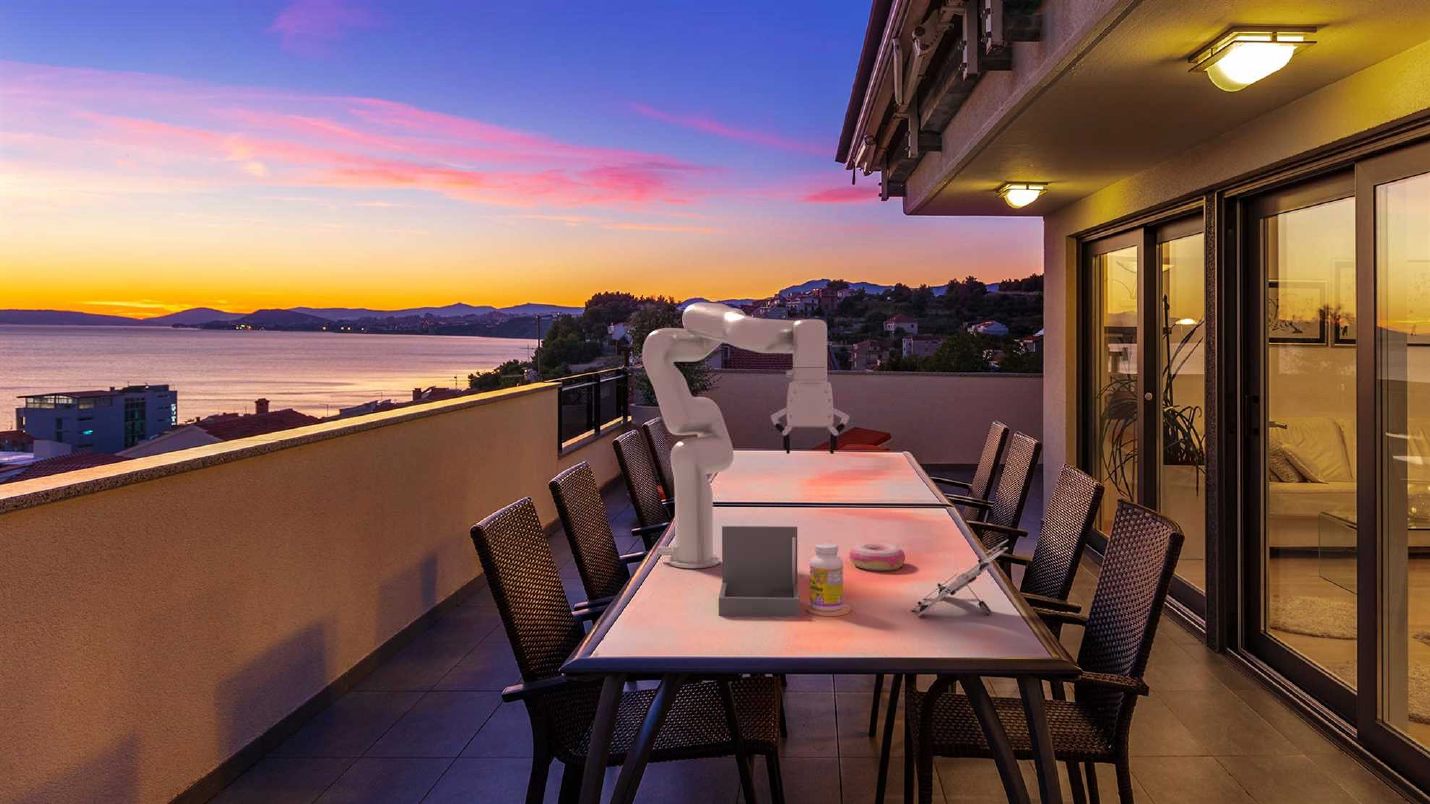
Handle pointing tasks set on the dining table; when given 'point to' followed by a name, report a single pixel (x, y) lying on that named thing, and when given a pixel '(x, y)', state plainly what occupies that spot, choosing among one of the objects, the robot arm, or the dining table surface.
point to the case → (759, 571)
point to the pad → (840, 612)
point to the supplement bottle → (826, 578)
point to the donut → (877, 556)
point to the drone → (964, 582)
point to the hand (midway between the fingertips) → (809, 453)
